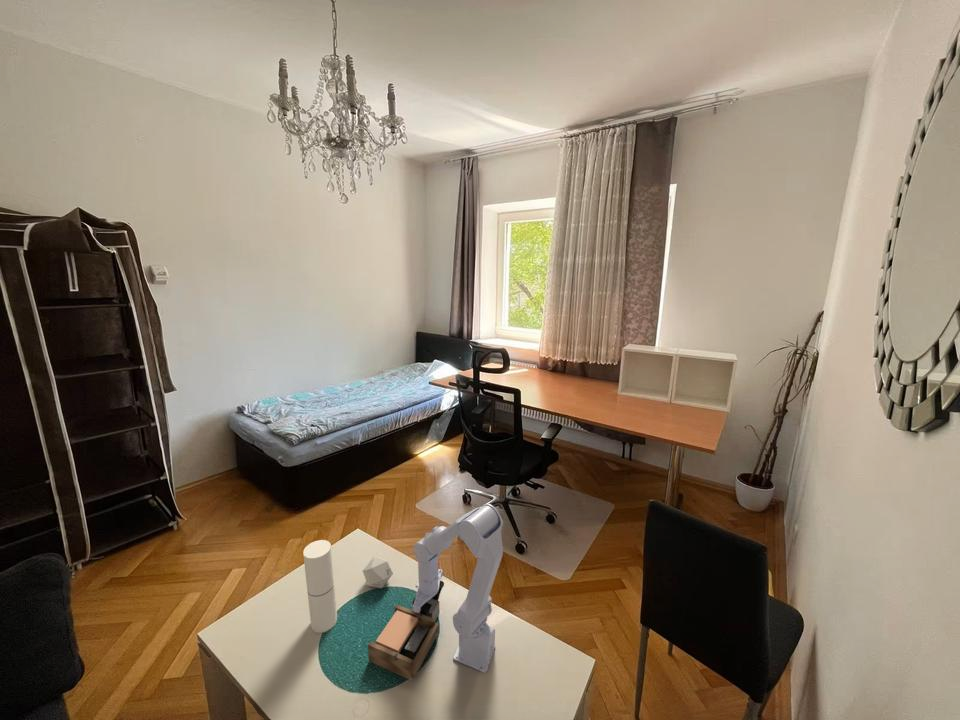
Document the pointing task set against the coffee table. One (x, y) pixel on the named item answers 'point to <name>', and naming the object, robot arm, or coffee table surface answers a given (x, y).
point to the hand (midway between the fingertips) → (428, 612)
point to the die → (377, 572)
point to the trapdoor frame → (398, 661)
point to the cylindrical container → (320, 585)
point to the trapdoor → (402, 634)
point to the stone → (434, 608)
